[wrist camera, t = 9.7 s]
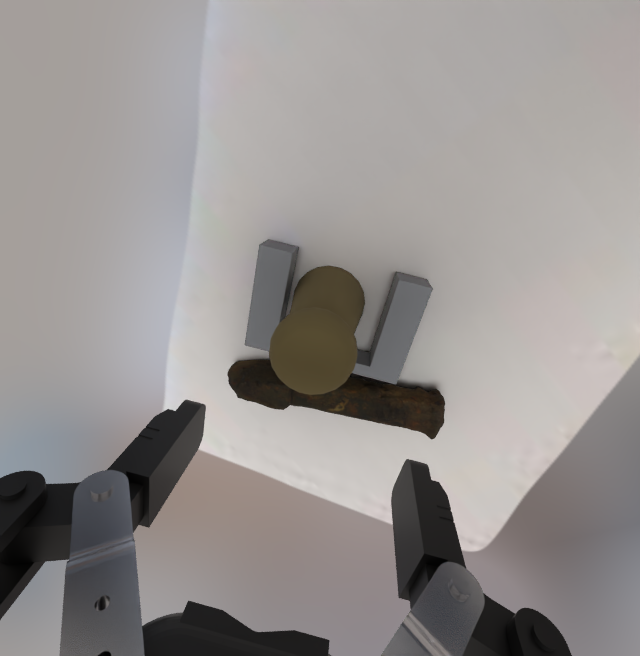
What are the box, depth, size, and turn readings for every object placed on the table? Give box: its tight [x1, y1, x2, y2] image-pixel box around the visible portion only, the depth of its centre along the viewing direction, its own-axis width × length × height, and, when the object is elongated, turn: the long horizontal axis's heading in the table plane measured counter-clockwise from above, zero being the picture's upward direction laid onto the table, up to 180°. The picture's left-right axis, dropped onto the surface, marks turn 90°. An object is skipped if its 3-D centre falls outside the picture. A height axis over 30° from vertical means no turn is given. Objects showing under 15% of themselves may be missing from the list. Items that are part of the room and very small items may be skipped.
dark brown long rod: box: [228, 360, 445, 439], centre depth 29 cm, size 19×4×5 cm, turn 79°
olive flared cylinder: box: [269, 266, 365, 395], centre depth 23 cm, size 6×6×11 cm
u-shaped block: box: [245, 239, 433, 384], centre depth 27 cm, size 8×13×2 cm, turn 77°
